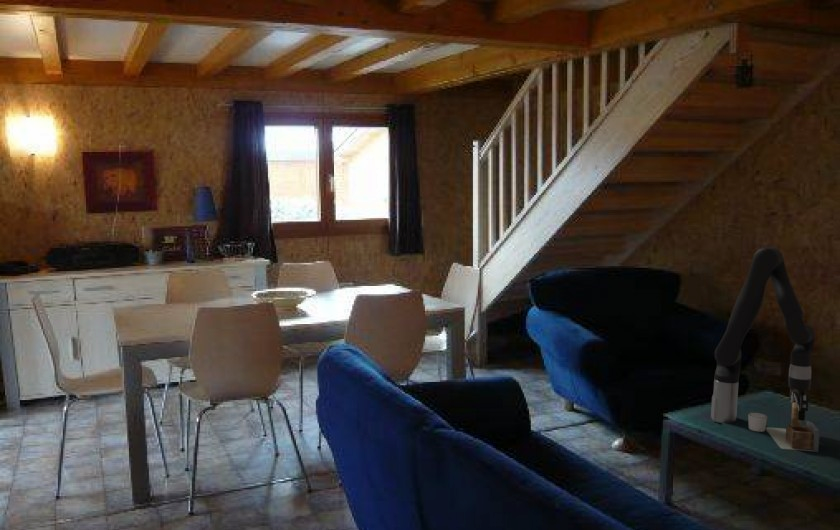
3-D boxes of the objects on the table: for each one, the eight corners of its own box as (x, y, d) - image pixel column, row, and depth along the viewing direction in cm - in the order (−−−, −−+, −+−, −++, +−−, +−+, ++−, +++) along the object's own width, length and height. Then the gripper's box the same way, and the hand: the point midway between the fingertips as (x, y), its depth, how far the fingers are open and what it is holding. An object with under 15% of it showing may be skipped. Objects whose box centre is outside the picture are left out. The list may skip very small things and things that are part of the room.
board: (780, 451, 254) (780, 448, 254) (763, 429, 276) (764, 427, 276) (817, 454, 251) (818, 451, 251) (797, 432, 274) (798, 429, 273)
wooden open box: (791, 447, 254) (793, 432, 253) (785, 439, 262) (786, 424, 261) (812, 449, 252) (813, 433, 252) (805, 441, 260) (806, 426, 259)
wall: (813, 451, 252) (815, 430, 251) (804, 441, 261) (806, 420, 260) (818, 451, 251) (819, 430, 250) (809, 441, 261) (810, 421, 260)
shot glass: (765, 436, 269) (766, 419, 269) (745, 432, 273) (747, 415, 272) (766, 431, 275) (768, 414, 274) (748, 427, 279) (749, 410, 278)
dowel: (792, 434, 268) (794, 404, 267) (789, 431, 271) (791, 402, 270) (801, 435, 267) (802, 404, 266) (798, 432, 270) (799, 402, 269)
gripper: (816, 381, 259) (814, 423, 261) (804, 371, 273) (802, 411, 274) (795, 380, 260) (792, 422, 262) (783, 370, 274) (781, 410, 276)
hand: (797, 416), depth 268 cm, fingers open, 8 cm apart
